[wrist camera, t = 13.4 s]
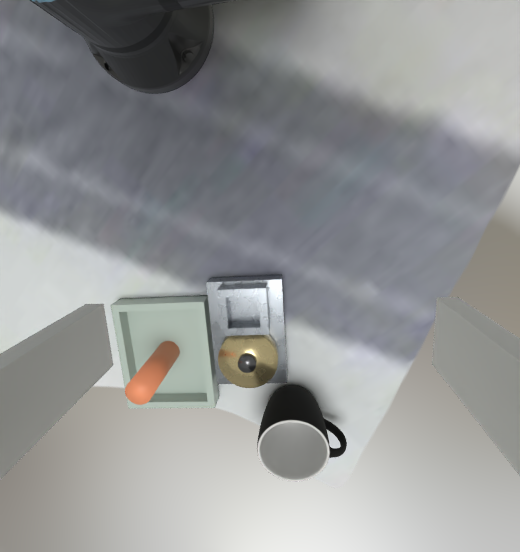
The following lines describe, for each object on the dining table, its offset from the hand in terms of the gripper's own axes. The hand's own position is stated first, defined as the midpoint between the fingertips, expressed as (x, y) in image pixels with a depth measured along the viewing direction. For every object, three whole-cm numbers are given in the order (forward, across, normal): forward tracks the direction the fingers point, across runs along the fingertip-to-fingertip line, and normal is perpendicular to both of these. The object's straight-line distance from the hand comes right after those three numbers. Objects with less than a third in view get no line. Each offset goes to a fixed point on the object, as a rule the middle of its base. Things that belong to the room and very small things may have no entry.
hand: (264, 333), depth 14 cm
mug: (+35, +2, -27) cm, 44 cm away
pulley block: (+34, -5, -14) cm, 38 cm away
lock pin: (+34, -17, -17) cm, 42 cm away
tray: (+34, -17, -17) cm, 42 cm away
